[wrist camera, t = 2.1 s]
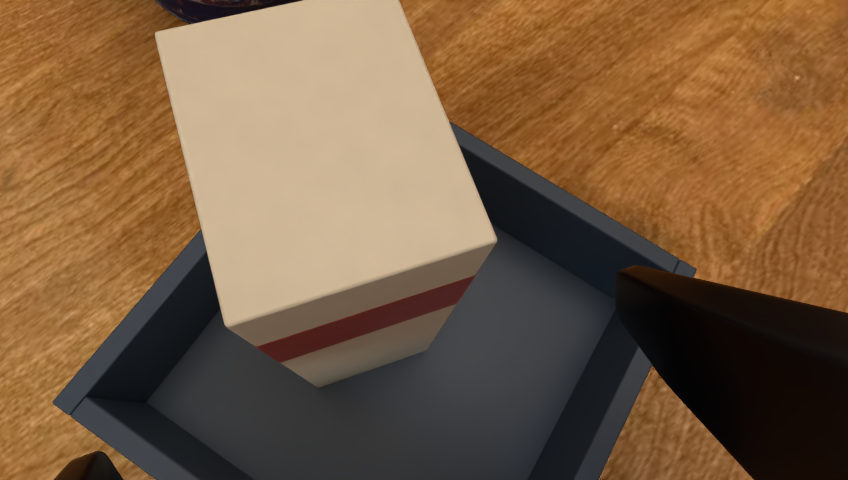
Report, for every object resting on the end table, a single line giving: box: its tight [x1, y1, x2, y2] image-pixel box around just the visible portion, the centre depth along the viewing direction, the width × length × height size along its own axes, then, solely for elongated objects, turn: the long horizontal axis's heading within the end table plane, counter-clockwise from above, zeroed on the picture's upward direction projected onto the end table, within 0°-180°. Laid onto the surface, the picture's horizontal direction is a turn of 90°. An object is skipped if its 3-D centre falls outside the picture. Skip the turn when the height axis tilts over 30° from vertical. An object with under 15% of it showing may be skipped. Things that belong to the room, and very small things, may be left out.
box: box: [53, 121, 697, 480], centre depth 17 cm, size 13×13×4 cm
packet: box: [155, 0, 497, 388], centre depth 14 cm, size 5×4×12 cm
